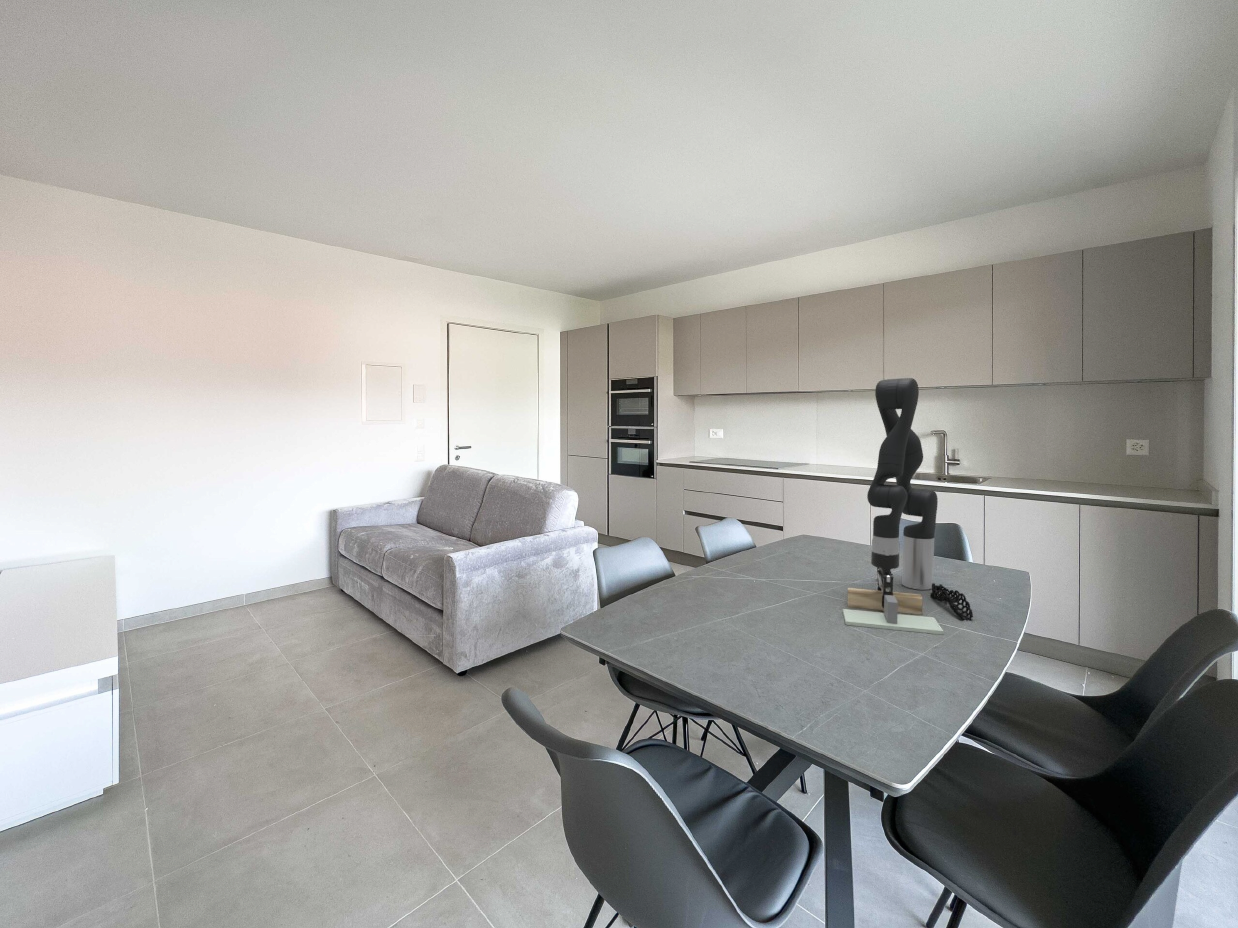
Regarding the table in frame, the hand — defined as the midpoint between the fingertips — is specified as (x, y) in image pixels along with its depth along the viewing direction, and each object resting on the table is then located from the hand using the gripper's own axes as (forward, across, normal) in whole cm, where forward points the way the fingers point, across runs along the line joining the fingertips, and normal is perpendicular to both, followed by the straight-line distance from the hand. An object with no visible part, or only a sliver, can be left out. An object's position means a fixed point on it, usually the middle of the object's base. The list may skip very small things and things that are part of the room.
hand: (883, 602), depth 162 cm
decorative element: (+2, -7, +19) cm, 20 cm away
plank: (+2, 0, 0) cm, 2 cm away
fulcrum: (+2, +12, 0) cm, 12 cm away
